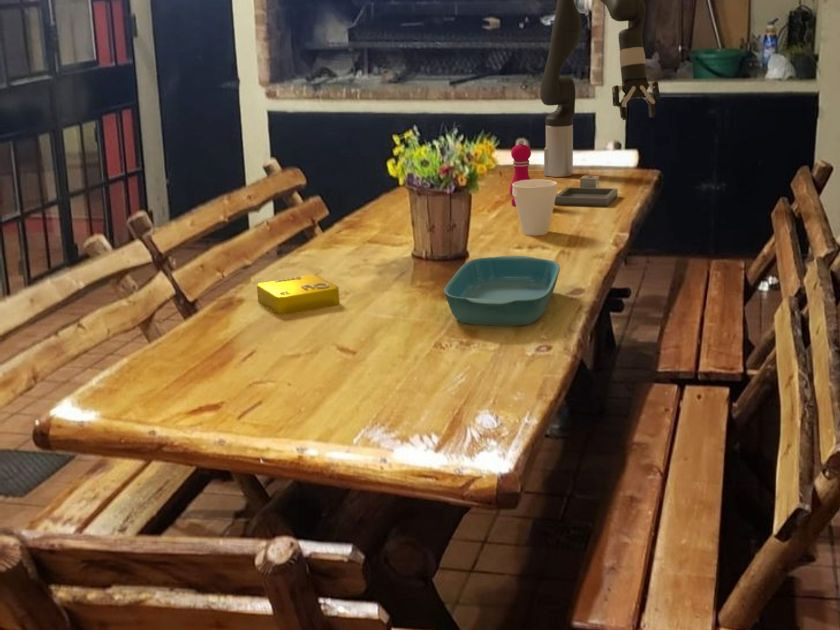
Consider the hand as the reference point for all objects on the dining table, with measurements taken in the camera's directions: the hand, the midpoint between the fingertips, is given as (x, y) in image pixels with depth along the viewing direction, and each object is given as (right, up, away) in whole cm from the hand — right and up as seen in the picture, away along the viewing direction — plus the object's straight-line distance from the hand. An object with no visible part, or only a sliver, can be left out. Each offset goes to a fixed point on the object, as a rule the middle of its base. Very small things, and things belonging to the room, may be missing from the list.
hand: (638, 118), depth 350 cm
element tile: (-93, -57, -89) cm, 141 cm away
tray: (-15, -24, +6) cm, 29 cm away
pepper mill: (-35, -26, +5) cm, 44 cm away
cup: (-34, -37, -32) cm, 60 cm away
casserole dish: (-48, -58, -99) cm, 124 cm away
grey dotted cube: (-12, -20, +19) cm, 30 cm away
